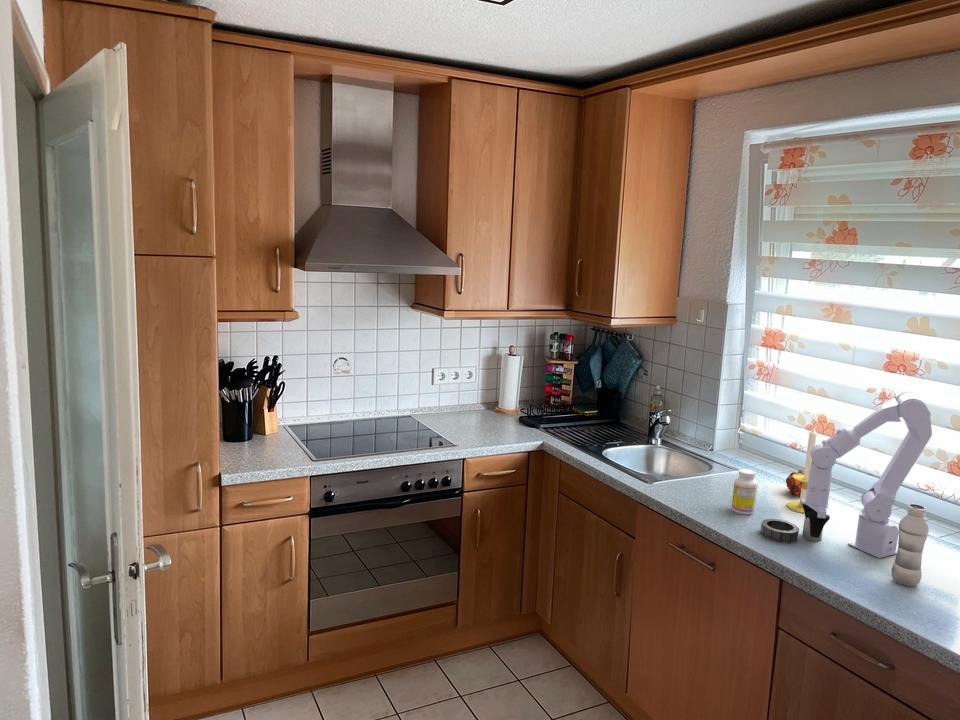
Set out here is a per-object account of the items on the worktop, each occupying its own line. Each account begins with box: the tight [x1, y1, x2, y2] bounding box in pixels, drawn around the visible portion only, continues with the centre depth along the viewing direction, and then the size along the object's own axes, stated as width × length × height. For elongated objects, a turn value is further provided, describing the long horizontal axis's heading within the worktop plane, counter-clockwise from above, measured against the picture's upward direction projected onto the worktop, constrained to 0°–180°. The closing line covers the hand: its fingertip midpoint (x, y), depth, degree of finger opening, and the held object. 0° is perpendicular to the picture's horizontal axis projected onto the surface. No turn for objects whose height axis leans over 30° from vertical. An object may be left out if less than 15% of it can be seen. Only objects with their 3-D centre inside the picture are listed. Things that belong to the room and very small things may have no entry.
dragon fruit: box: [785, 470, 804, 497], centre depth 237 cm, size 8×8×12 cm
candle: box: [786, 426, 818, 514], centre depth 223 cm, size 10×10×27 cm
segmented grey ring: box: [759, 518, 800, 544], centre depth 203 cm, size 10×10×3 cm
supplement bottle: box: [731, 468, 758, 516], centre depth 219 cm, size 7×7×13 cm
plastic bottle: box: [891, 503, 930, 587], centre depth 176 cm, size 6×7×20 cm
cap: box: [801, 517, 824, 543], centre depth 202 cm, size 5×5×5 cm
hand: (812, 532), depth 202 cm, fingers closed on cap, 5 cm apart
